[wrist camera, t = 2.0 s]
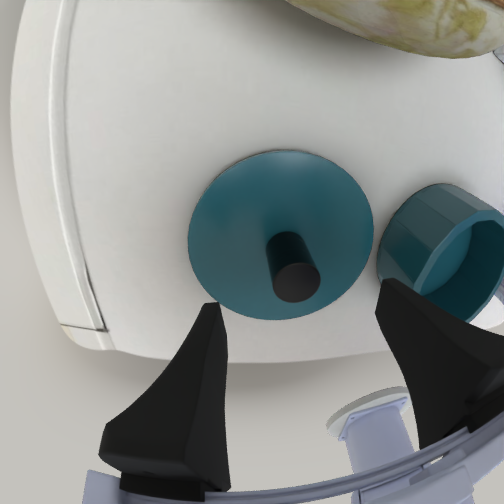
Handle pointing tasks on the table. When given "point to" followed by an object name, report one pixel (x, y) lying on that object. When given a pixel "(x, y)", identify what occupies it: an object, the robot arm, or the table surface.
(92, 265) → the table surface
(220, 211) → the lid
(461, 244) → the teal round dish
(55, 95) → the table surface
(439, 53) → the sugar bowl
